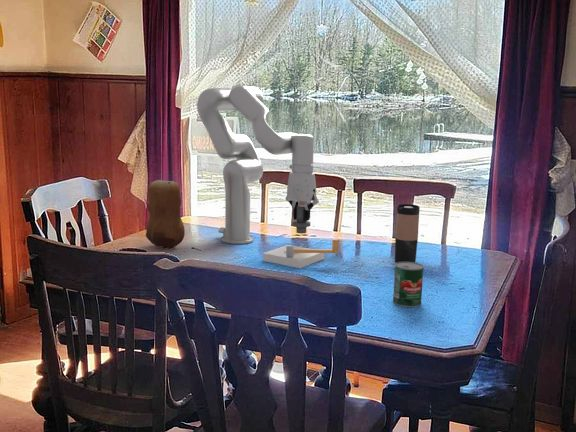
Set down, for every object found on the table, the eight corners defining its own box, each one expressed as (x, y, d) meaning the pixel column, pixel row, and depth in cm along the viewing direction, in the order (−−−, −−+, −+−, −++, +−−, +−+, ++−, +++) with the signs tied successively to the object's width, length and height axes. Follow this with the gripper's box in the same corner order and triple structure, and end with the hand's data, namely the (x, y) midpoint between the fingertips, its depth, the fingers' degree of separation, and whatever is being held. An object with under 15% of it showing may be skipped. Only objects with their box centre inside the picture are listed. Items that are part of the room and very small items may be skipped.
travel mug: (417, 260, 222) (421, 205, 218) (414, 266, 215) (418, 208, 211) (395, 258, 225) (399, 203, 221) (392, 263, 218) (395, 206, 214)
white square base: (262, 264, 213) (263, 253, 212) (287, 255, 225) (288, 244, 224) (300, 272, 204) (300, 260, 204) (323, 262, 217) (324, 251, 216)
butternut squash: (178, 241, 241) (178, 177, 237) (189, 249, 230) (188, 181, 225) (142, 244, 235) (141, 178, 231) (151, 253, 224) (149, 183, 219)
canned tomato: (404, 296, 183) (407, 260, 181) (426, 303, 177) (429, 266, 175) (386, 301, 178) (389, 264, 176) (409, 309, 172) (411, 270, 170)
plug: (289, 232, 227) (289, 206, 225) (298, 229, 232) (299, 204, 230) (304, 235, 224) (304, 208, 222) (313, 232, 229) (314, 206, 227)
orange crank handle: (285, 255, 209) (286, 238, 208) (337, 255, 210) (338, 239, 209) (286, 257, 206) (286, 240, 205) (338, 257, 208) (339, 240, 207)
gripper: (277, 168, 225) (276, 218, 228) (316, 172, 216) (315, 224, 219) (288, 166, 231) (288, 215, 235) (327, 170, 222) (326, 221, 226)
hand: (301, 219), depth 227 cm, fingers closed on plug, 3 cm apart
